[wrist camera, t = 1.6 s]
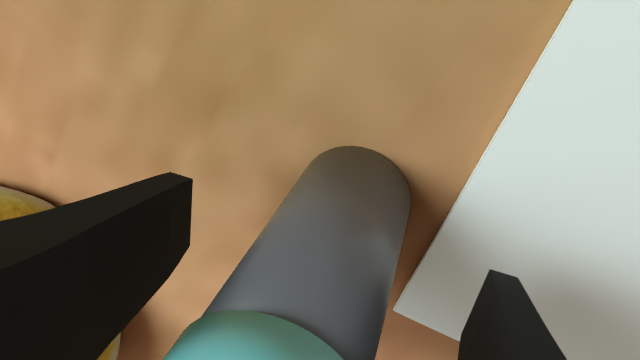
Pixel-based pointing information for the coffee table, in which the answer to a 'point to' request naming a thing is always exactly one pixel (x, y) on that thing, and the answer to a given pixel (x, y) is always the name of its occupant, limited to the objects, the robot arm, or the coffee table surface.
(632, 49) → the paper
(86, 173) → the coffee table surface
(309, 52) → the coffee table surface
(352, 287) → the grey teal-capped tube
